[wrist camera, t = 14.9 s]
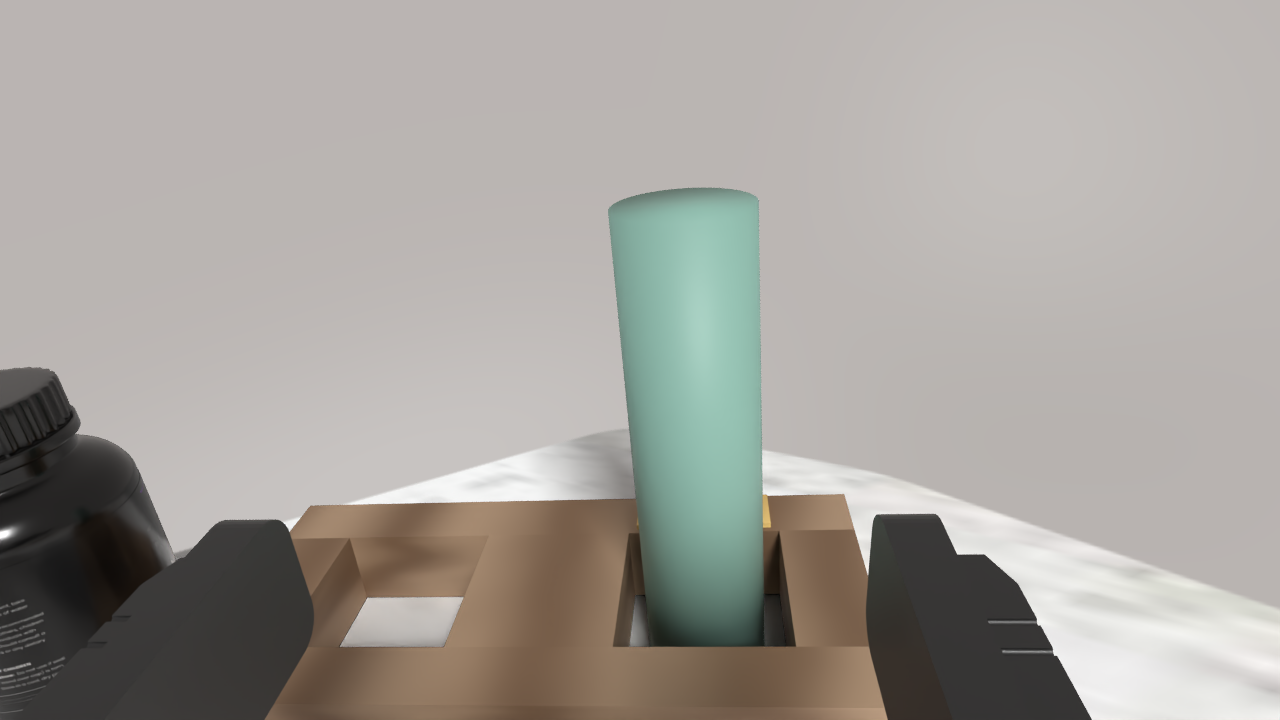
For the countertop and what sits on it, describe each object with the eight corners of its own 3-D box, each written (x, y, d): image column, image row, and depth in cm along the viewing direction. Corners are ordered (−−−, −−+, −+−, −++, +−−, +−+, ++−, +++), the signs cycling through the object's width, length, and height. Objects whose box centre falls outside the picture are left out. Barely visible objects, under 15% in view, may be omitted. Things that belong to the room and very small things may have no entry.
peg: (647, 697, 25) (598, 228, 19) (654, 611, 29) (616, 192, 22) (768, 699, 25) (763, 219, 18) (760, 611, 28) (754, 184, 22)
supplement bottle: (254, 647, 29) (144, 362, 24) (75, 809, 23) (-119, 480, 18) (135, 607, 31) (12, 343, 26) (-53, 744, 26) (-254, 441, 21)
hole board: (187, 771, 24) (152, 698, 23) (328, 562, 33) (309, 501, 32) (899, 782, 22) (906, 703, 20) (841, 555, 31) (844, 490, 30)
